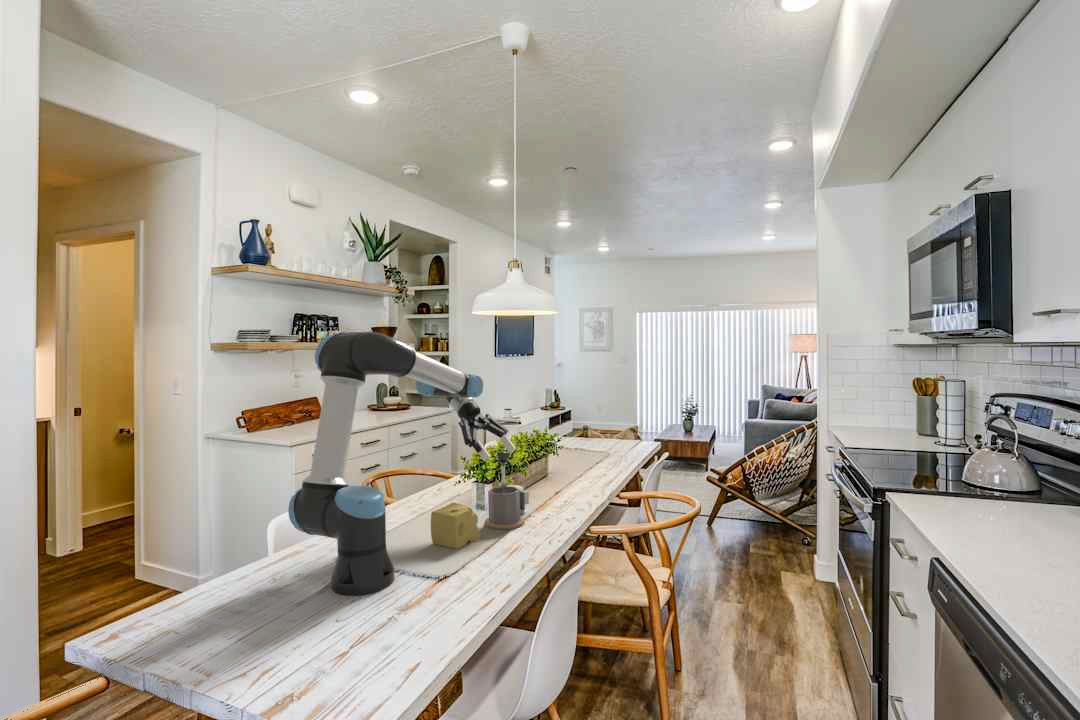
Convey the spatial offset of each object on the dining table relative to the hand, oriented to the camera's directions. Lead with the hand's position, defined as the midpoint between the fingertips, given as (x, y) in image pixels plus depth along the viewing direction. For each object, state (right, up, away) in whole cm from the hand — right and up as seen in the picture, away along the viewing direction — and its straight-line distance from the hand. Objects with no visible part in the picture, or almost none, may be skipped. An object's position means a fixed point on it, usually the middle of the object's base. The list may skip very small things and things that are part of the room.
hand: (500, 454), depth 186 cm
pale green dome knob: (+5, -22, +10) cm, 24 cm away
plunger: (+1, -15, -1) cm, 15 cm away
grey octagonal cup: (+1, -22, -1) cm, 22 cm away
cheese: (-13, -23, -17) cm, 32 cm away
